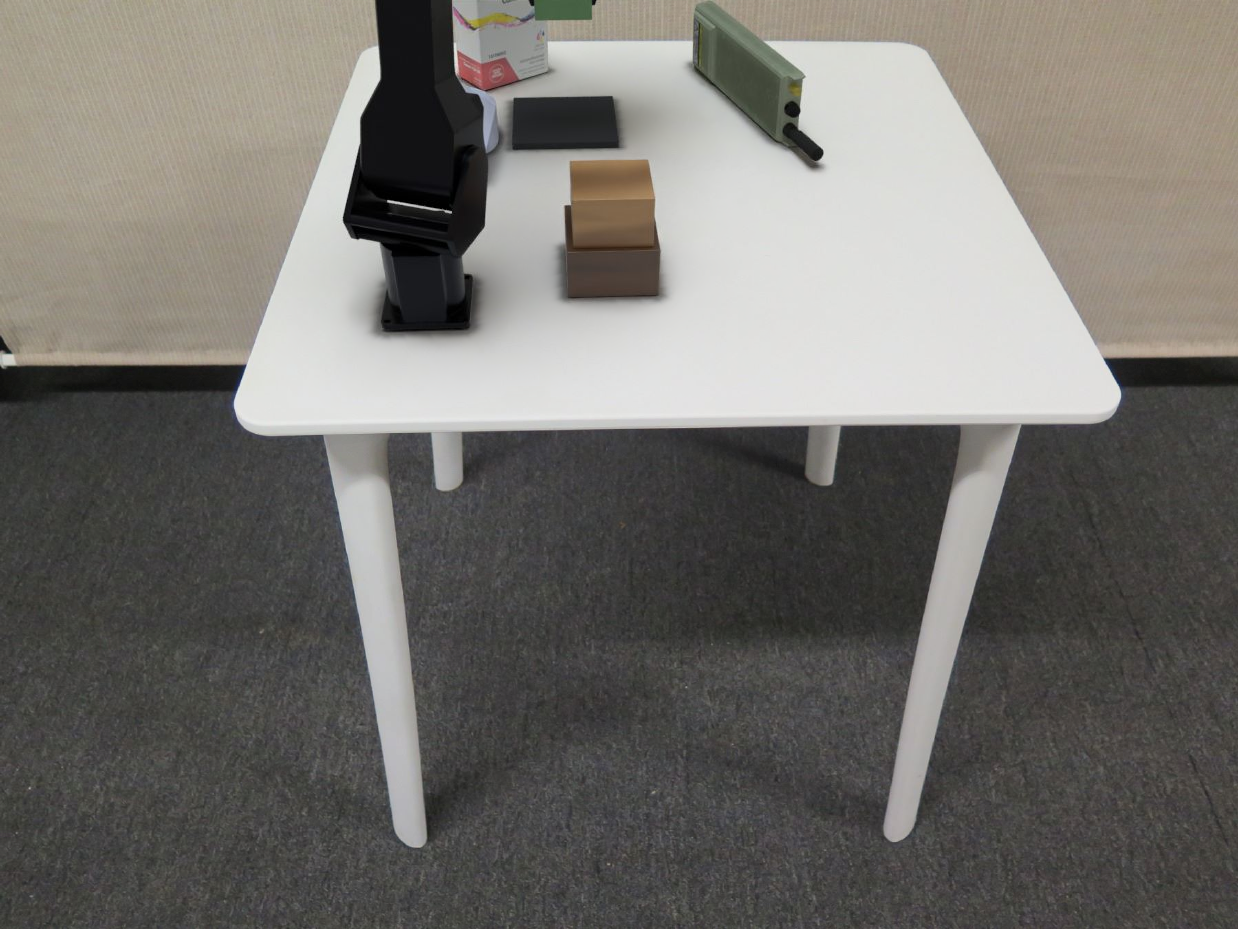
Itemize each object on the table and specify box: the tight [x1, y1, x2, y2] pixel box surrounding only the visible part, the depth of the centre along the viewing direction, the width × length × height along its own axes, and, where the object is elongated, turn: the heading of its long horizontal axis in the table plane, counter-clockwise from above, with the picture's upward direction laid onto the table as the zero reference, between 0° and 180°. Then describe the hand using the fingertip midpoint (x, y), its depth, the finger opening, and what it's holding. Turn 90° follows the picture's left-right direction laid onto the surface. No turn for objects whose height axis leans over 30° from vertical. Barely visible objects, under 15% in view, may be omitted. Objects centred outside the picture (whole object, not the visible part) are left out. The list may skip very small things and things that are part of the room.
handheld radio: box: [692, 0, 825, 162], centre depth 99 cm, size 7×3×25 cm
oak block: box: [569, 158, 656, 248], centre depth 76 cm, size 6×6×4 cm
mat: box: [511, 95, 620, 150], centre depth 99 cm, size 10×10×1 cm
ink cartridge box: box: [452, 0, 549, 91], centre depth 102 cm, size 9×5×15 cm, turn 130°
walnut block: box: [563, 204, 661, 298], centre depth 79 cm, size 7×7×4 cm
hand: (563, 4), depth 90 cm, fingers closed on green block, 5 cm apart
